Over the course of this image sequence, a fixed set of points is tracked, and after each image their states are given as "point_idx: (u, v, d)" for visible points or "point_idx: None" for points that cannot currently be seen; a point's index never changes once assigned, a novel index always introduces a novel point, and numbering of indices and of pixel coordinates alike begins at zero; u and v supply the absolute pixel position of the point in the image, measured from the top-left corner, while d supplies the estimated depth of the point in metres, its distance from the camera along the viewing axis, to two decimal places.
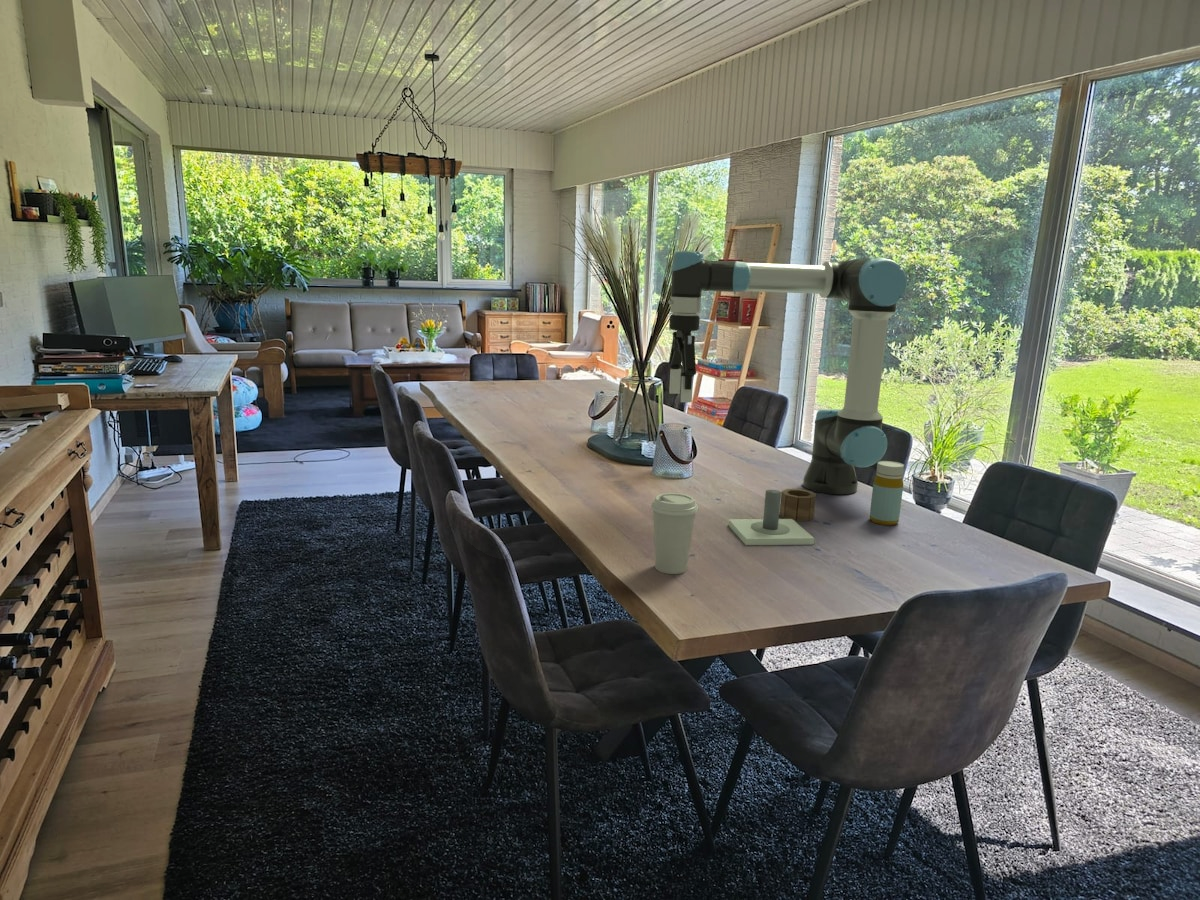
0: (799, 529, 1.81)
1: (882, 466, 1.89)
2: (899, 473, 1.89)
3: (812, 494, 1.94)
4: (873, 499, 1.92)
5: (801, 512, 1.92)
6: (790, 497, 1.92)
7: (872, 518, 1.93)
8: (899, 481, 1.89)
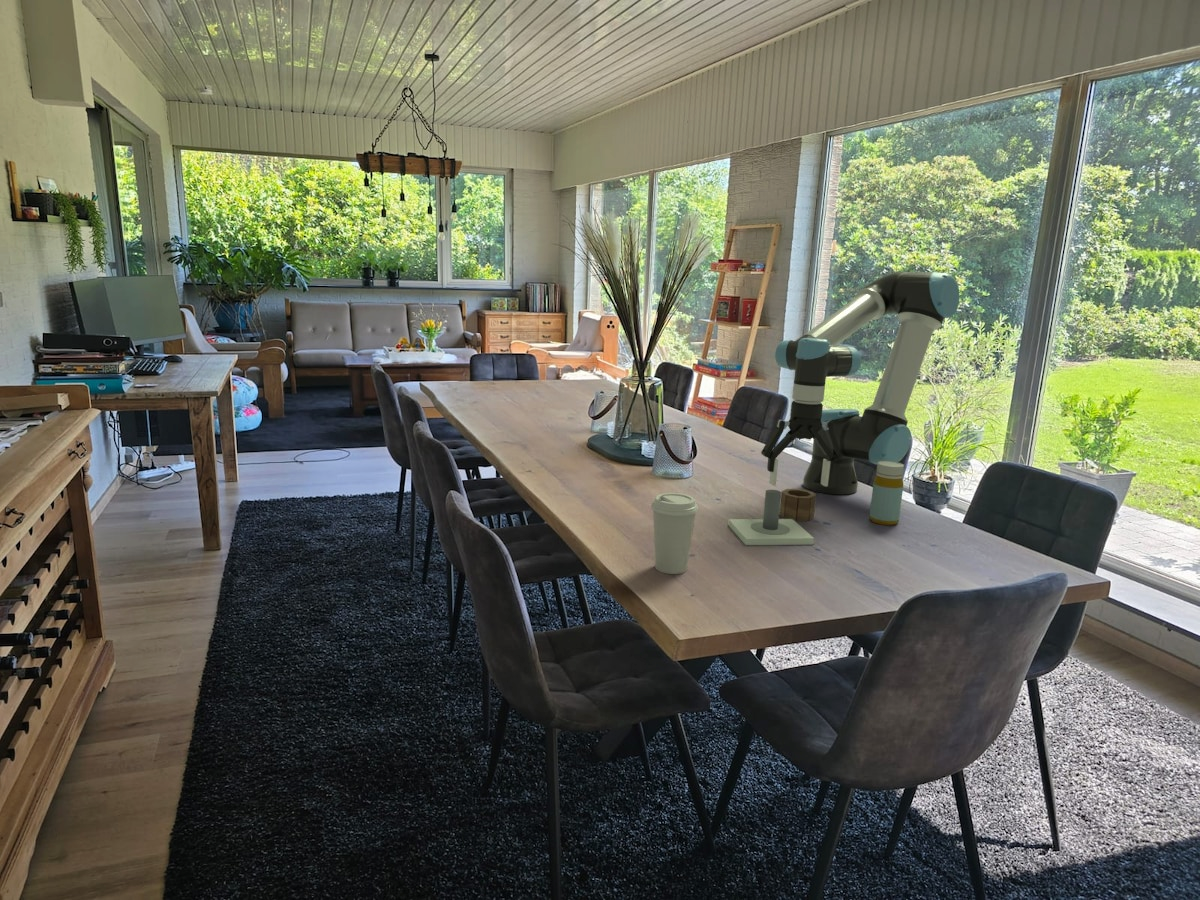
0: (799, 529, 1.81)
1: (882, 466, 1.89)
2: (899, 473, 1.89)
3: (812, 494, 1.94)
4: (873, 499, 1.92)
5: (801, 512, 1.92)
6: (790, 497, 1.92)
7: (872, 518, 1.93)
8: (899, 481, 1.89)
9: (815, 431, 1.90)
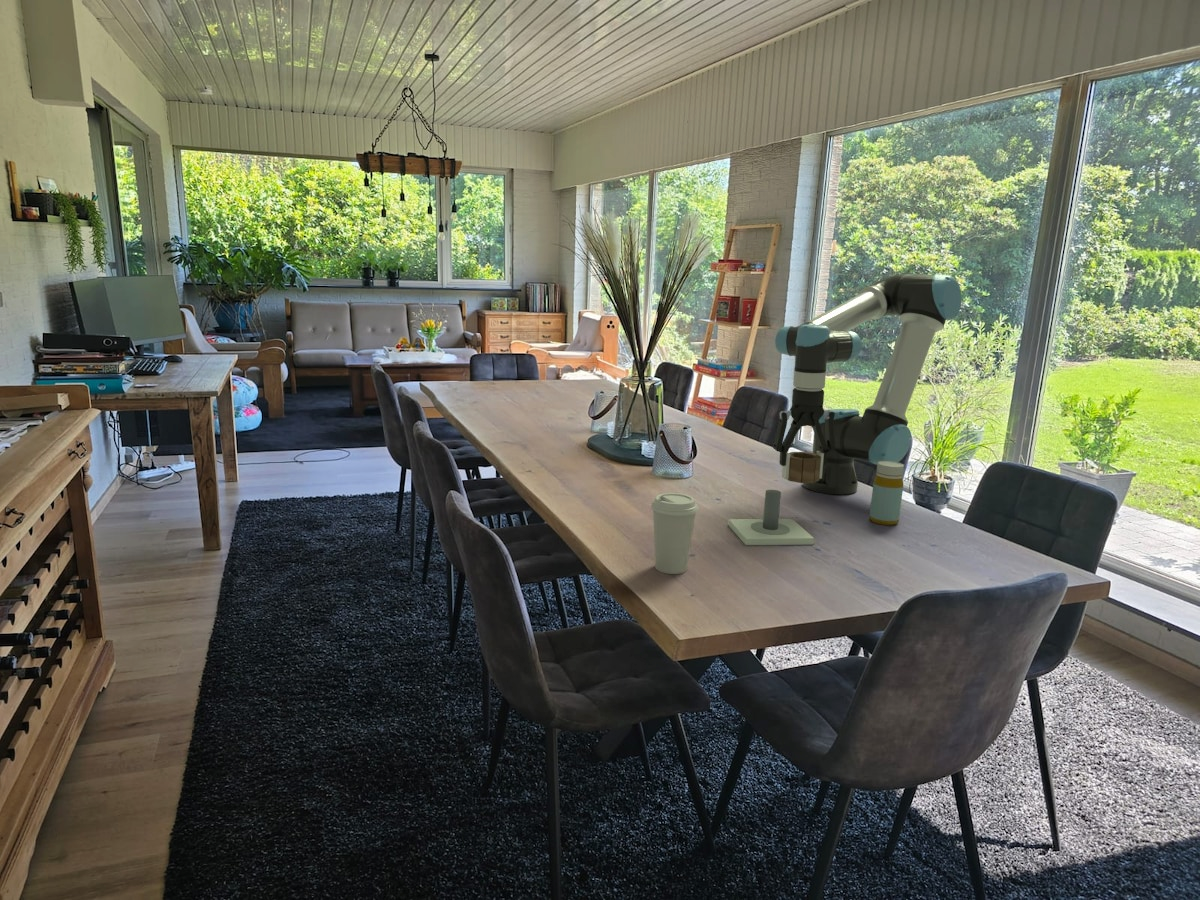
0: (799, 529, 1.81)
1: (882, 466, 1.89)
2: (899, 473, 1.89)
3: (817, 456, 1.92)
4: (873, 499, 1.92)
5: (806, 474, 1.90)
6: (795, 459, 1.90)
7: (872, 518, 1.93)
8: (899, 481, 1.89)
9: (816, 419, 1.89)
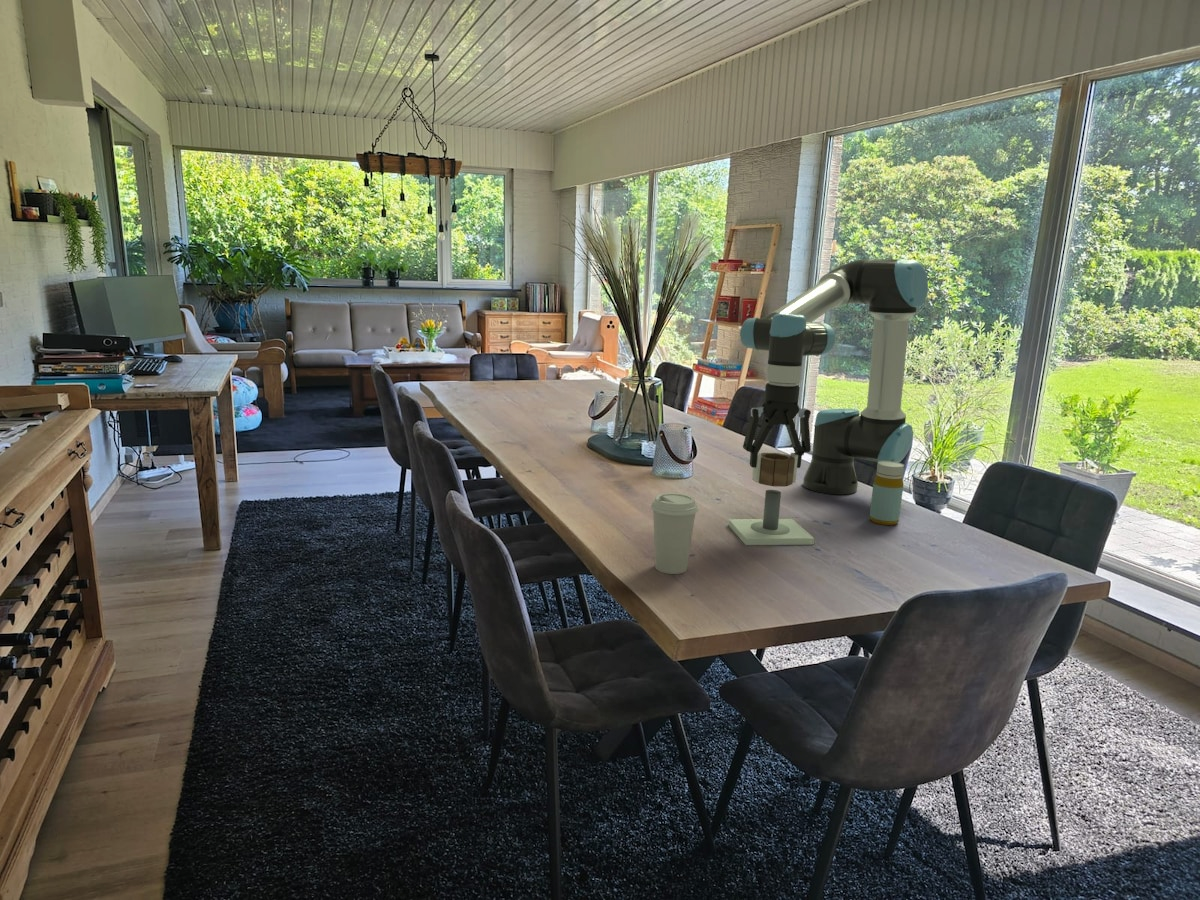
0: (799, 529, 1.81)
1: (882, 466, 1.89)
2: (899, 473, 1.89)
3: (790, 458, 1.76)
4: (873, 499, 1.92)
5: (778, 477, 1.74)
6: (766, 460, 1.74)
7: (872, 518, 1.93)
8: (899, 481, 1.89)
9: (790, 417, 1.73)
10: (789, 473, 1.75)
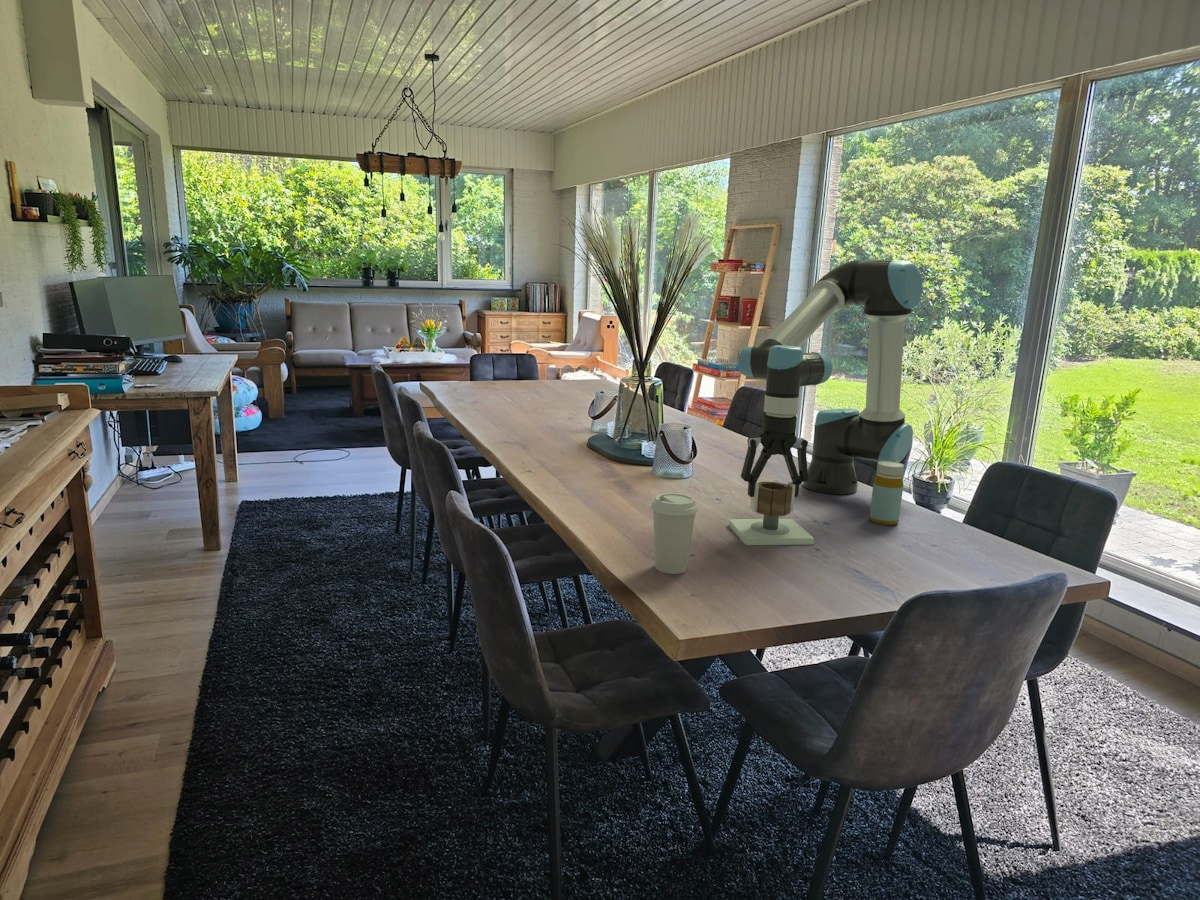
0: (799, 529, 1.81)
1: (882, 466, 1.89)
2: (899, 473, 1.89)
3: (788, 487, 1.78)
4: (873, 499, 1.92)
5: (776, 507, 1.76)
6: (764, 490, 1.76)
7: (872, 518, 1.93)
8: (899, 481, 1.89)
9: (788, 447, 1.75)
10: (787, 503, 1.76)
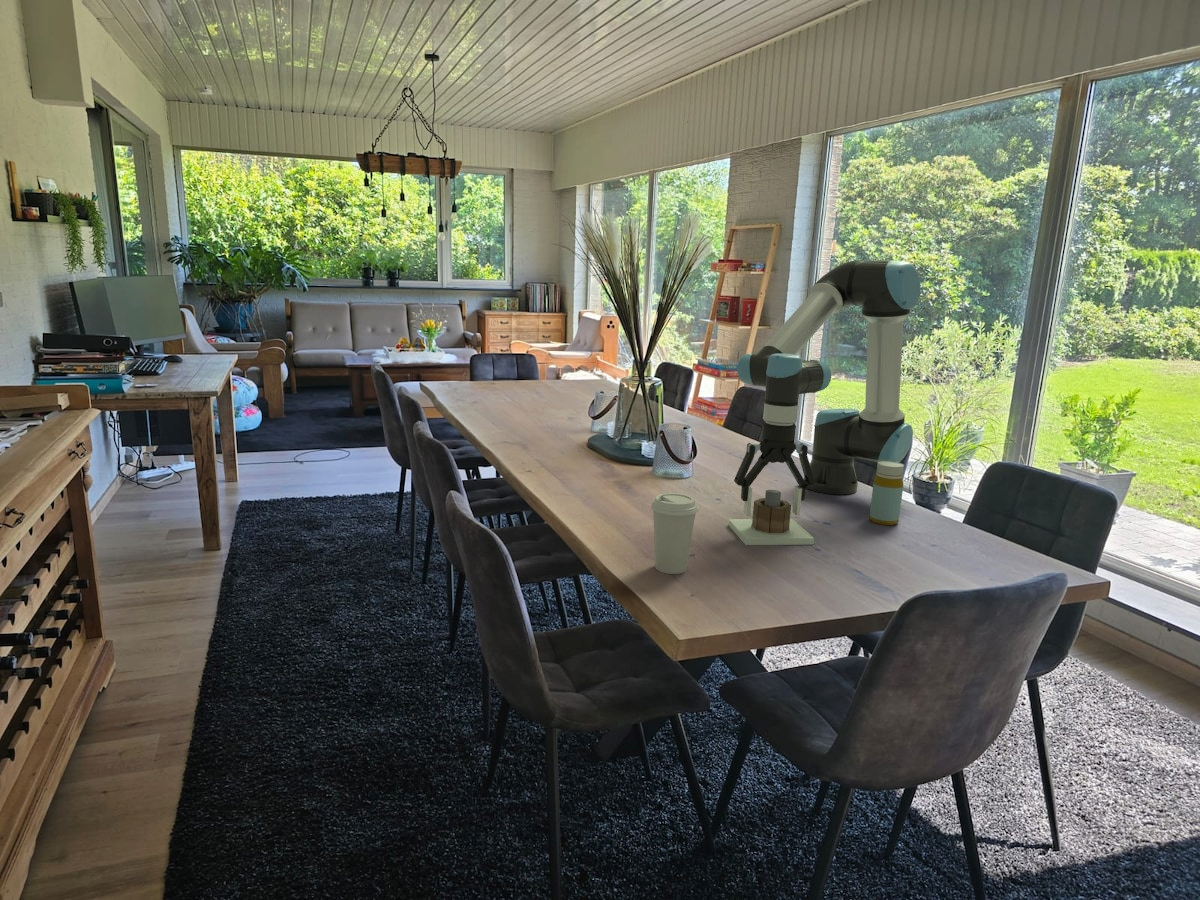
0: (799, 529, 1.81)
1: (882, 466, 1.89)
2: (899, 473, 1.89)
3: (787, 504, 1.79)
4: (873, 499, 1.92)
5: (774, 524, 1.77)
6: (763, 508, 1.77)
7: (872, 518, 1.93)
8: (899, 481, 1.89)
9: (788, 454, 1.76)
10: (785, 520, 1.77)
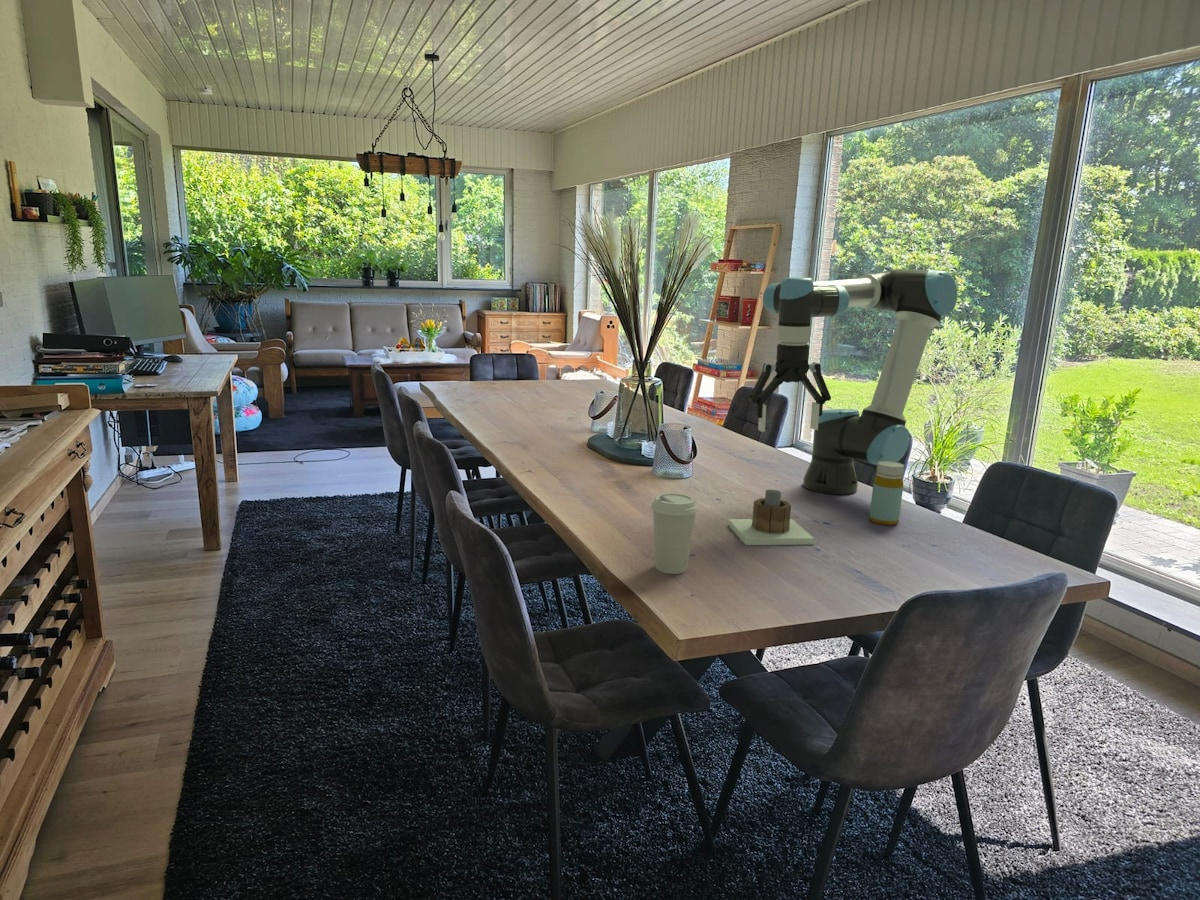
0: (799, 529, 1.81)
1: (882, 466, 1.89)
2: (899, 473, 1.89)
3: (787, 504, 1.79)
4: (873, 499, 1.92)
5: (774, 524, 1.77)
6: (763, 508, 1.77)
7: (872, 518, 1.93)
8: (899, 481, 1.89)
9: (802, 373, 1.85)
10: (785, 520, 1.77)
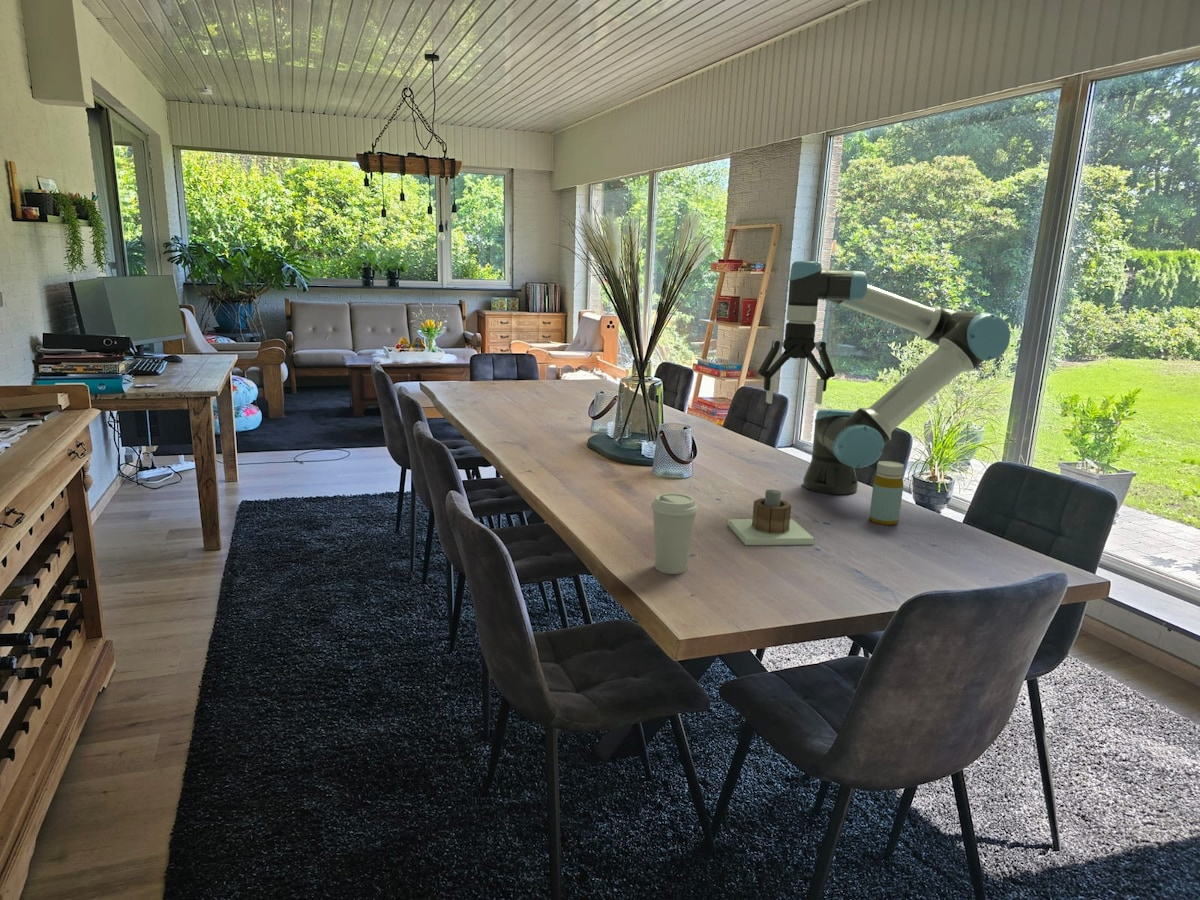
0: (799, 529, 1.81)
1: (882, 466, 1.89)
2: (899, 473, 1.89)
3: (787, 504, 1.79)
4: (873, 499, 1.92)
5: (774, 524, 1.77)
6: (763, 508, 1.77)
7: (872, 518, 1.93)
8: (899, 481, 1.89)
9: (809, 350, 2.00)
10: (785, 520, 1.77)
